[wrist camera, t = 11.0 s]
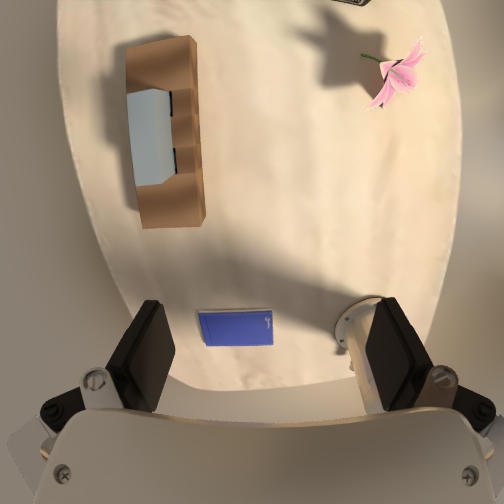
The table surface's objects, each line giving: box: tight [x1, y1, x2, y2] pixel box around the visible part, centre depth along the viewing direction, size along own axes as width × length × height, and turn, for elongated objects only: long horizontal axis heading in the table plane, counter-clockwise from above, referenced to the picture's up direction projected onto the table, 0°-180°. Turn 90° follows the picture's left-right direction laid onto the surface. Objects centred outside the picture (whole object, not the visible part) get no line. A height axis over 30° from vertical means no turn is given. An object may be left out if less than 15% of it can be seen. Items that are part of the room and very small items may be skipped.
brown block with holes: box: [126, 35, 206, 229], centre depth 31 cm, size 24×8×4 cm, turn 1°
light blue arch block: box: [127, 89, 177, 186], centre depth 28 cm, size 10×3×9 cm, turn 2°
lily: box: [361, 36, 426, 111], centre depth 24 cm, size 12×12×10 cm
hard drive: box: [198, 308, 274, 346], centre depth 47 cm, size 2×8×12 cm
